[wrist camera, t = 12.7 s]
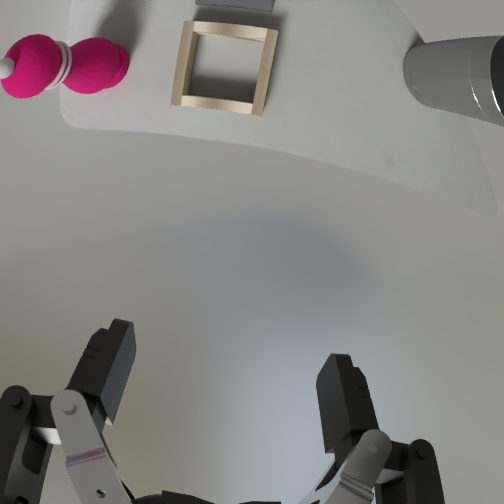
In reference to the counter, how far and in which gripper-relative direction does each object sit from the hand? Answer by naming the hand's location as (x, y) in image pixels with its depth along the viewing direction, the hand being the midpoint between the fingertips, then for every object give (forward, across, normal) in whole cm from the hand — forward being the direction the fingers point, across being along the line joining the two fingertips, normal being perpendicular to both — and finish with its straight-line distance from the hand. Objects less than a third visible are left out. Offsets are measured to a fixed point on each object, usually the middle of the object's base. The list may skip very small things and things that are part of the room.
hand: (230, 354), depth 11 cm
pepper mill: (+30, +21, -11) cm, 38 cm away
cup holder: (+29, +5, -12) cm, 32 cm away
